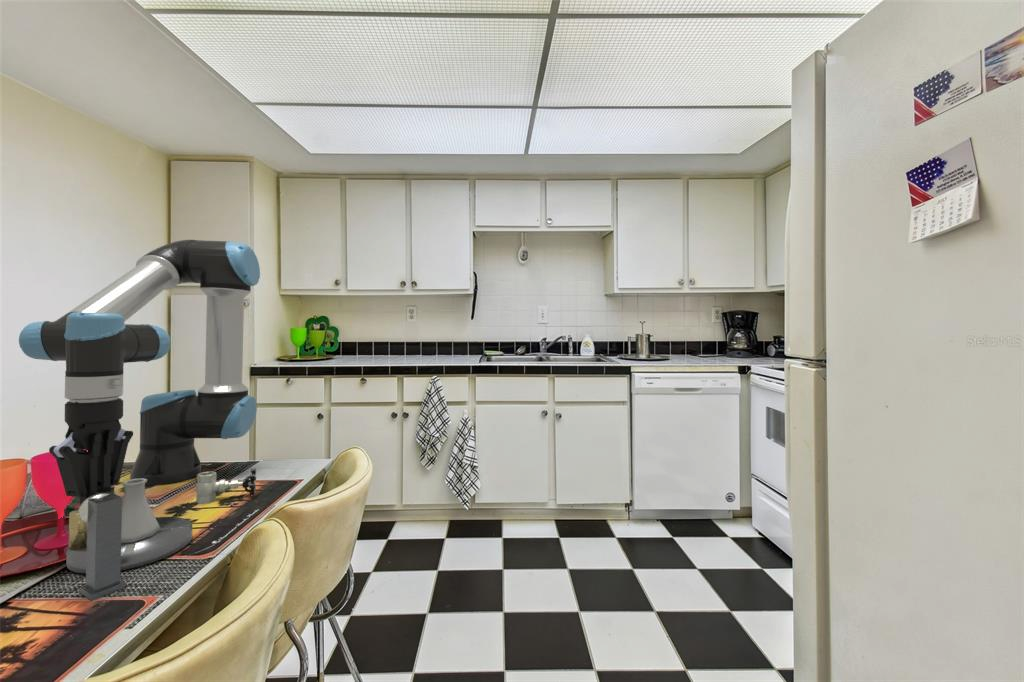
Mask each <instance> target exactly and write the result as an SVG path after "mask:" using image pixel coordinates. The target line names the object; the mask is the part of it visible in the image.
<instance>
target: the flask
mask: <svg viewBox="0 0 1024 682" xmlns="http://www.w3.org/2000/svg"><path fill="white" fill-rule="evenodd" d="M146 482H147V479H144V478H138V479H131V480H130V479H128V480H125V481H123V482H122V486H123V487H124V494H123V496H122V529H121V543H129V542H136V541H139V540H141V539H144V538H147V537H150V536H152V535H154V534H155V533H156V532H157V531H158V530H160V529H161V528H160V526H159V524H158V522H157V520H156V518H155V517H156V516H155V514H154V512H153V509H152V508H151V505H150V503H149V502H148V499H147V494H146V485H145V483H146Z"/></svg>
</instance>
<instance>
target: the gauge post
mask: <svg viewBox="0 0 1024 682" xmlns="http://www.w3.org/2000/svg"><path fill="white" fill-rule="evenodd" d="M122 501H123V496H121V495H118V494H115V493H114V494H107V493H99V494H95V495H92V496H90V497H89V498H87V499H86V500H85V501H84V502H83V503H82V504H81V506H80V508H79V511H78V515H79V518H80V519H81V520H82V521H84V522H86V523H87V560H86V573H85V585H82V586H79V594H81V595H83V596H84V597H86V598H87V599H89V600H90V601H94V600H96V599H98V598H102V597H104V596H106V595H109V594H111V593H115V592H117V591H119V590H121V589H125V588H126V583H127V582H126V581H125V580H123V579H121V570H120V566H121V529H122Z"/></svg>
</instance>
